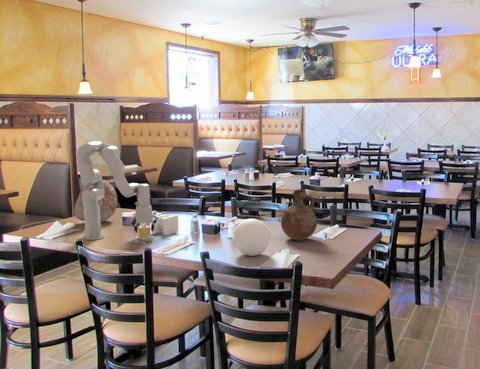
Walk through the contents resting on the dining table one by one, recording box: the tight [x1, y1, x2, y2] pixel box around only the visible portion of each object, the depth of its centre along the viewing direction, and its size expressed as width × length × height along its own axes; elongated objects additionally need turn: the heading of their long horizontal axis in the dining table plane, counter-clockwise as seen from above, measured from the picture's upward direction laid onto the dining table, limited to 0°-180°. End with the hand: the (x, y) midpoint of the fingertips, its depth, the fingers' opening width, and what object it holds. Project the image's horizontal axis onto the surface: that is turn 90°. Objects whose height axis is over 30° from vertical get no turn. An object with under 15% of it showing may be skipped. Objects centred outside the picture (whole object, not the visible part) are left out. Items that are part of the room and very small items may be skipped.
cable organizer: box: [150, 213, 179, 236], centre depth 328 cm, size 15×11×12 cm
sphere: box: [232, 218, 271, 257], centre depth 276 cm, size 20×20×20 cm
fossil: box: [74, 180, 119, 223], centre depth 363 cm, size 31×26×30 cm
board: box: [124, 234, 170, 246], centre depth 310 cm, size 22×18×5 cm
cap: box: [138, 225, 151, 238], centre depth 315 cm, size 6×6×7 cm
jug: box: [280, 189, 318, 242], centre depth 308 cm, size 22×22×30 cm
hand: (144, 231), depth 315 cm, fingers open, 9 cm apart
